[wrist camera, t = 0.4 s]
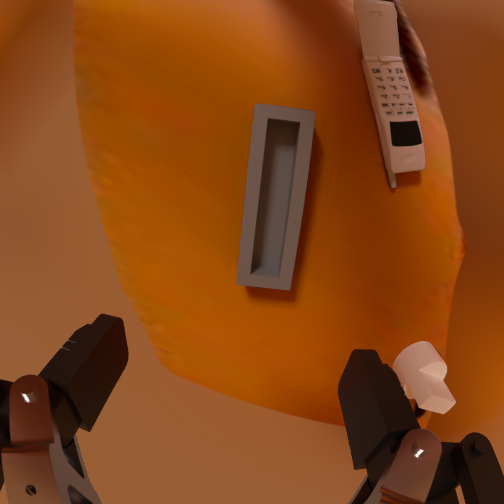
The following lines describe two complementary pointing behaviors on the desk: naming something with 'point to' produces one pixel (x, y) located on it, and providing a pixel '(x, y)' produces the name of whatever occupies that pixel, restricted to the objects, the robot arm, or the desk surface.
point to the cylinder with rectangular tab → (424, 377)
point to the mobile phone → (389, 88)
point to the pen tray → (274, 195)
